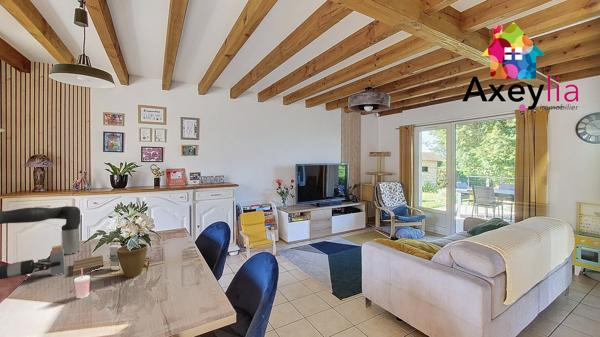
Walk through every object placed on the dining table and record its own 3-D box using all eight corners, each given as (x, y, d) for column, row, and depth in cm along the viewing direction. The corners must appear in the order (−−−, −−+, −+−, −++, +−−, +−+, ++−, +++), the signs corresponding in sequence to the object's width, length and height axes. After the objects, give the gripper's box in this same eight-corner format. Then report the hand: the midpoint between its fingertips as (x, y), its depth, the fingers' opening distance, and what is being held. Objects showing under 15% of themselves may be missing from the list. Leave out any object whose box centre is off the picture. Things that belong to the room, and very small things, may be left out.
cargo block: (52, 253, 152) (52, 246, 152) (62, 251, 154) (61, 244, 154) (52, 255, 149) (51, 248, 149) (61, 253, 151) (61, 246, 151)
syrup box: (126, 266, 161) (125, 243, 161) (118, 270, 155) (118, 246, 155) (117, 266, 162) (117, 243, 161) (110, 270, 156) (109, 246, 155)
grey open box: (52, 273, 152) (51, 251, 152) (65, 270, 156) (64, 248, 155) (50, 276, 148) (49, 253, 148) (64, 273, 152) (63, 251, 151)
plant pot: (154, 270, 155) (153, 244, 154) (132, 282, 141) (131, 253, 140) (134, 268, 159) (133, 242, 158) (110, 279, 145) (109, 250, 144)
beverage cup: (77, 294, 128) (76, 266, 128) (93, 292, 131) (92, 264, 130) (72, 300, 123) (70, 271, 122) (88, 298, 125) (86, 269, 124)
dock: (74, 265, 164) (74, 260, 164) (102, 259, 173) (102, 254, 173) (73, 276, 149) (72, 270, 148) (103, 269, 157) (103, 264, 157)
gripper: (17, 266, 137) (59, 258, 147) (23, 258, 148) (61, 251, 158) (18, 280, 137) (60, 271, 147) (24, 271, 148) (62, 263, 158)
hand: (61, 261), depth 153 cm, fingers open, 8 cm apart
